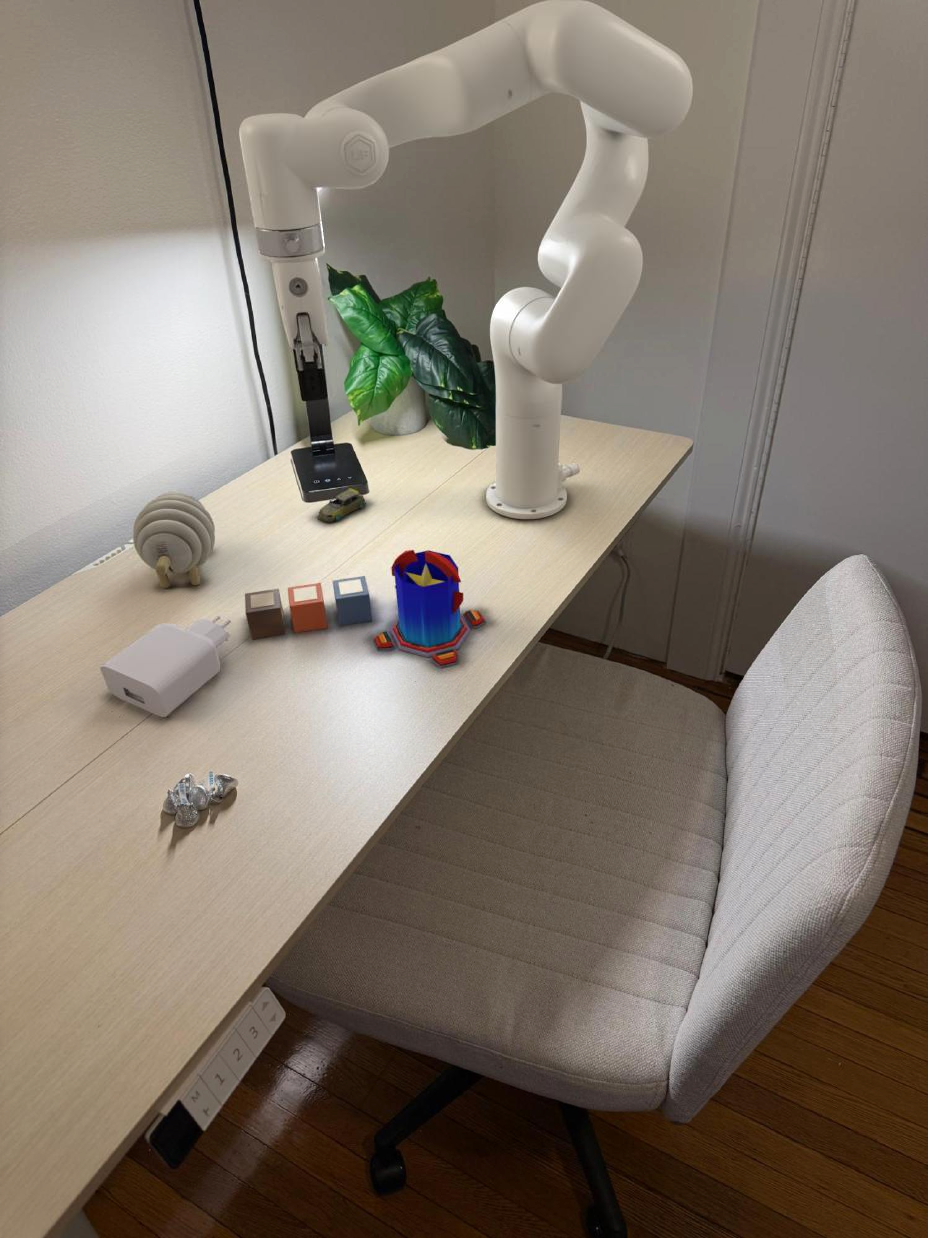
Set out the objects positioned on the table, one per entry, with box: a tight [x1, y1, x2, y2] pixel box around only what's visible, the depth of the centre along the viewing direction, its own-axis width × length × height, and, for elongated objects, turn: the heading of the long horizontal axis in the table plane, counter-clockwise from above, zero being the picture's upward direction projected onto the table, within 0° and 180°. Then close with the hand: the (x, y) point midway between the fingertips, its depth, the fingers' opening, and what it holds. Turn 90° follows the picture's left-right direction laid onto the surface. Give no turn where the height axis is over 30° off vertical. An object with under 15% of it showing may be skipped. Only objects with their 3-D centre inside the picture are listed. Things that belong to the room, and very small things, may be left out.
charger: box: [99, 615, 232, 718], centre depth 97 cm, size 5×9×15 cm
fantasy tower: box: [372, 549, 488, 669], centre depth 99 cm, size 12×12×12 cm
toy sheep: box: [132, 491, 216, 589], centre depth 111 cm, size 11×17×11 cm, turn 10°
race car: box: [316, 487, 367, 524], centre depth 126 cm, size 4×8×2 cm, turn 138°
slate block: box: [332, 575, 373, 626], centre depth 105 cm, size 4×4×4 cm
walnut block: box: [244, 588, 287, 640], centre depth 103 cm, size 4×4×4 cm
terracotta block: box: [287, 582, 329, 634], centre depth 104 cm, size 4×4×4 cm
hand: (311, 384), depth 104 cm, fingers open, 9 cm apart
